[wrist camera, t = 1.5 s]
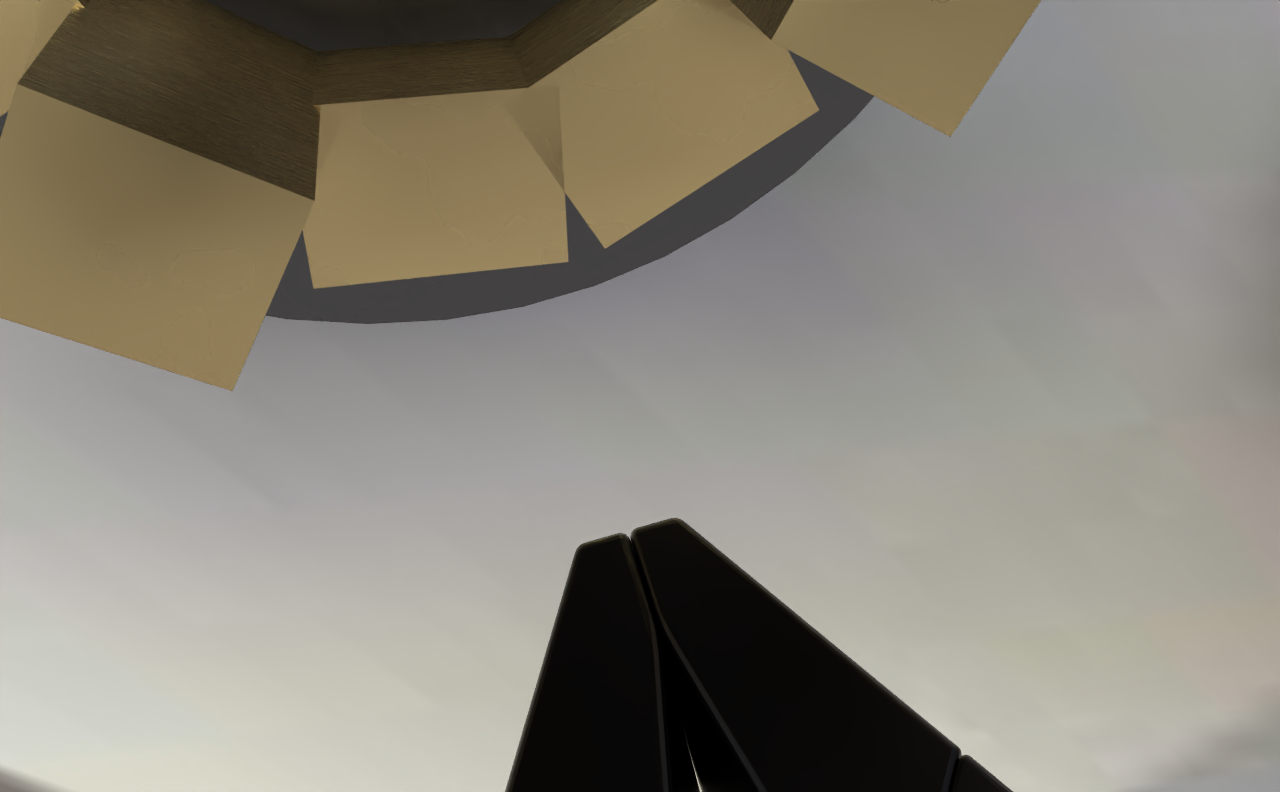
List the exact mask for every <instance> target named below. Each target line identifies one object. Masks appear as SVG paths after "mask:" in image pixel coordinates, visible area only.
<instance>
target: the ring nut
mask: <svg viewBox="0 0 1280 792" xmlns="http://www.w3.org/2000/svg"><path fill="white" fill-rule="evenodd" d="M1040 1H1041V0H561V1H560V2H558V3H557V4H556V5H554V6H553V7H551V8H550V9H548V10H547V11H545V12H544V13H542V14H541V15H539V16H538V17H537V18H535V19H534V20H532V21H531V22H529V23H528V24H526V25H525V26H523V27H522V28H521V29H519V30H518V31H516V32H515V33H513V34H512V35H510V36H509V37H498V38H484V39H471V40H457V41H444V42H430V43H417V44H403V45H390V46H376V47H363V48H349V49H336V50H322V51H316V50H314V49H312V48H309V47H307V46H305V45H303V44H300V43H298V42H296V41H294V40H291V39H289V38H287V37H285V36H283V35H280V34H278V33H276V32H274V31H271V30H269V29H267V28H265V27H262V26H260V25H258V24H256V23H253V22H251V21H249V20H247V19H245V18H242V17H240V16H238V15H236V14H233V13H231V12H229V11H227V10H224V9H222V8H220V7H218V6H215V5H213V4H211V3H209V2H207V1H204V0H0V116H2V115H3V114H5V113H6V112H7V111H9V112H8V115H7V118H6V121H5V125H4V128H3V131H2V135H1V138H0V318H3V319H6V320H9V321H12V322H15V323H19V324H22V325H25V326H28V327H31V328H34V329H37V330H41V331H44V332H47V333H50V334H53V335H56V336H60V337H63V338H66V339H69V340H72V341H75V342H79V343H82V344H85V345H88V346H91V347H94V348H98V349H101V350H104V351H107V352H110V353H113V354H117V355H120V356H123V357H126V358H129V359H132V360H136V361H139V362H142V363H145V364H148V365H151V366H155V367H158V368H161V369H164V370H167V371H170V372H174V373H177V374H180V375H183V376H186V377H189V378H193V379H196V380H199V381H202V382H205V383H208V384H211V385H215V386H218V387H221V388H224V389H227V390H230V391H233V389H234V386H235V384H236V382H237V380H238V377H239V375H240V373H241V370H242V368H243V366H244V363H245V361H246V359H247V356H248V354H249V352H250V350H251V347H252V345H253V343H254V340H255V338H256V336H257V333H258V331H259V329H260V326H261V324H262V322H263V320H264V317H265V315H266V313H267V310H268V308H269V306H270V303H271V301H272V299H273V296H274V294H275V292H276V290H277V287H278V285H279V283H280V280H281V278H282V276H283V273H284V271H285V269H286V266H287V264H288V262H289V260H290V257H291V255H292V253H293V250H294V248H295V246H296V243H297V241H298V239H299V236H300V234H301V232H302V230H303V235H304V240H305V245H306V251H307V256H308V262H309V267H310V272H311V278H312V283H313V288H314V289H316V288H325V287H335V286H344V285H354V284H363V283H373V282H382V281H392V280H401V279H411V278H420V277H430V276H439V275H449V274H458V273H468V272H477V271H486V270H496V269H505V268H515V267H524V266H534V265H543V264H553V263H562V262H568V244H567V225H566V207H565V193H566V194H567V196H568V197H569V199H570V200H571V202H572V203H573V204H574V206H575V207H576V209H577V210H578V211H579V213H580V214H581V216H582V217H583V218H584V220H585V221H586V223H587V224H588V226H589V227H590V228H591V230H592V231H593V233H594V234H595V235H596V237H597V238H598V240H599V241H600V242H601V244H602V245H603V247H604V248H605V249H606V248H607V247H609V246H610V245H612V244H613V243H615V242H617V241H618V240H620V239H621V238H623V237H624V236H626V235H627V234H629V233H630V232H632V231H634V230H635V229H637V228H638V227H640V226H641V225H643V224H644V223H646V222H647V221H649V220H650V219H652V218H654V217H655V216H657V215H658V214H660V213H661V212H663V211H664V210H666V209H667V208H669V207H671V206H672V205H674V204H675V203H677V202H678V201H680V200H681V199H683V198H684V197H686V196H688V195H689V194H691V193H692V192H694V191H695V190H697V189H698V188H700V187H701V186H703V185H705V184H706V183H708V182H709V181H711V180H712V179H714V178H715V177H717V176H718V175H720V174H722V173H723V172H725V171H726V170H728V169H729V168H731V167H732V166H734V165H735V164H737V163H738V162H740V161H742V160H743V159H745V158H746V157H748V156H749V155H751V154H752V153H754V152H755V151H757V150H759V149H760V148H762V147H763V146H765V145H766V144H768V143H769V142H771V141H772V140H774V139H776V138H777V137H779V136H780V135H782V134H783V133H785V132H786V131H788V130H789V129H791V128H793V127H794V126H796V125H797V124H799V123H800V122H802V121H803V120H805V119H806V118H808V117H810V116H811V115H813V114H814V113H816V112H817V111H819V109H818V107H817V105H816V103H815V101H814V99H813V97H812V95H811V93H810V91H809V90H808V88H807V86H806V84H805V82H804V80H803V78H802V76H801V74H800V72H799V71H798V69H797V67H796V65H795V63H794V61H793V59H792V57H791V55H790V54H789V52H788V50H790V51H792V52H793V53H795V54H797V55H799V56H801V57H803V58H805V59H806V60H808V61H810V62H812V63H814V64H816V65H818V66H819V67H821V68H823V69H825V70H827V71H829V72H831V73H832V74H834V75H836V76H838V77H840V78H842V79H844V80H845V81H847V82H849V83H851V84H853V85H855V86H857V87H858V88H860V89H862V90H864V91H866V92H868V93H870V94H871V95H873V96H875V97H877V98H879V99H881V100H883V101H884V102H886V103H888V104H890V105H892V106H894V107H896V108H897V109H899V110H901V111H903V112H905V113H907V114H909V115H910V116H912V117H914V118H916V119H918V120H920V121H922V122H923V123H925V124H927V125H929V126H931V127H933V128H935V129H936V130H938V131H940V132H942V133H944V134H946V135H948V136H949V137H951V135H952V134H953V132H954V131H955V129H956V128H957V126H958V125H959V123H960V122H961V120H962V119H963V117H964V116H965V114H966V113H967V111H968V110H969V108H970V107H971V105H972V104H973V102H974V101H975V99H976V98H977V96H978V95H979V93H980V92H981V90H982V89H983V87H984V86H985V84H986V83H987V81H988V80H989V78H990V76H991V75H992V73H993V72H994V70H995V69H996V67H997V66H998V64H999V63H1000V61H1001V60H1002V58H1003V57H1004V55H1005V54H1006V52H1007V51H1008V49H1009V48H1010V46H1011V45H1012V43H1013V42H1014V40H1015V39H1016V37H1017V36H1018V34H1019V33H1020V31H1021V30H1022V28H1023V27H1024V25H1025V24H1026V22H1027V21H1028V19H1029V18H1030V16H1031V15H1032V13H1033V12H1034V10H1035V9H1036V7H1037V6H1038V4H1039V3H1040ZM787 49H788V50H787Z"/></svg>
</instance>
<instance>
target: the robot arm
mask: <svg viewBox="0 0 1280 792" xmlns="http://www.w3.org/2000/svg"><path fill="white" fill-rule="evenodd" d="M630 537H631V541H630V539H629V537H628V536H627V535H626V534H623V533H618V534H614V535H610V536H607V537H603V538H600V539H596V540H593V541H589V542H586V543H583V544H581V545H580V546H579V547H578V548H577V550H576V552H575V555H574V558H573V561H572V565H571V568H570V572H569V575H568V578H567V582H566V585H565V589H564V592H563V596H562V599H561V602H560V606H559V609H558V613H557V616H556V619H555V623H554V626H553V630H552V633H551V636H550V640H549V643H548V647H547V650H546V654H545V657H544V660H543V664H542V667H541V671H540V674H539V677H538V681H537V684H536V688H535V691H534V695H533V698H532V701H531V705H530V708H529V712H528V715H527V718H526V722H525V725H524V729H523V732H522V735H521V739H520V742H519V746H518V749H517V753H516V756H515V759H514V763H513V766H512V770H511V773H510V776H509V780H508V783H507V787H506V790H505V792H700V791H699V787H698V783H697V779H696V775H697V778H698V781H699V784H700V787H701V790H702V792H1013V791H1012V790H1011V789H1009V788H1008V787H1007V786H1005V785H1004V784H1003V783H1002V782H1001V781H999V780H998V779H997V778H996V777H995V776H993V775H992V774H991V773H990V772H989V771H987V770H986V769H985V768H984V767H983V766H981V765H980V764H979V763H978V762H977V761H975V760H974V759H973V758H972V757H970V756H969V755H963V756H961V750H960V748H959V747H958V746H956V745H955V744H954V743H953V742H952V741H950V740H949V739H948V738H947V737H945V736H944V735H943V734H942V733H941V732H939V731H938V730H937V729H936V728H935V727H933V726H932V725H931V724H930V723H928V722H927V721H926V720H925V719H924V718H922V717H921V716H920V715H919V714H917V713H916V712H915V711H914V710H913V709H911V708H910V707H909V706H908V705H907V704H905V703H904V702H903V701H902V700H900V699H899V698H898V697H897V696H896V695H894V694H893V693H892V692H891V691H890V690H888V689H887V688H886V687H885V686H883V685H882V684H881V683H880V682H879V681H877V680H876V679H875V678H874V677H873V676H871V675H870V674H869V673H868V672H866V671H865V670H864V669H863V668H862V667H860V666H859V665H858V664H857V663H856V662H854V661H853V660H852V659H851V658H849V657H848V656H847V655H846V654H845V653H843V652H842V651H841V650H840V649H839V648H837V647H836V646H835V645H834V644H832V643H831V642H830V641H829V640H828V639H826V638H825V637H824V636H823V635H821V634H820V633H819V632H818V631H817V630H815V629H814V628H813V627H812V626H811V625H809V624H808V623H807V622H806V621H804V620H803V619H802V618H801V617H800V616H798V615H797V614H796V613H795V612H794V611H792V610H791V609H790V608H789V607H787V606H786V605H785V604H784V603H783V602H781V601H780V600H779V599H778V598H777V597H775V596H774V595H773V594H772V593H770V592H769V591H768V590H767V589H766V588H764V587H763V586H762V585H761V584H760V583H758V582H757V581H756V580H755V579H753V578H752V577H751V576H750V575H749V574H747V573H746V572H745V571H744V570H743V569H741V568H740V567H739V566H738V565H736V564H735V563H734V562H733V561H732V560H730V559H729V558H728V557H727V556H726V555H724V554H723V553H722V552H721V551H719V550H718V549H717V548H716V547H715V546H713V545H712V544H711V543H710V542H708V541H707V540H706V539H705V538H704V537H702V536H701V535H700V534H699V533H698V532H696V531H695V530H694V529H693V528H691V527H690V526H689V525H688V524H687V523H685V522H684V521H682V520H681V519H678V518H670V519H667V520H663V521H660V522H656V523H653V524H649V525H646V526H642V527H639V528H636V529H634V530H633V532H632V533H631V536H630ZM689 751H690V752H689ZM691 758H692V759H691ZM692 761H693V763H692ZM693 765H694V767H693ZM694 768H695V771H696V775H695V771H694Z"/></svg>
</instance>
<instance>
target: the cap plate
mask: <svg viewBox="0 0 1280 792" xmlns="http://www.w3.org/2000/svg"><path fill="white" fill-rule="evenodd" d="M204 1H207V2H209V3H211V4H213V5H215V6H218V7H220V8H222V9H224V10H227V11H229V12H231V13H233V14H236V15H238V16H240V17H242V18H245V19H247V20H249V21H251V22H253V23H256V24H258V25H260V26H262V27H265V28H267V29H269V30H271V31H274V32H276V33H278V34H280V35H283V36H285V37H287V38H289V39H291V40H294V41H296V42H298V43H300V44H303V45H305V46H307V47H309V48H312V49H314V50H316V51H322V50H336V49H349V48H363V47H376V46H390V45H403V44H417V43H430V42H444V41H457V40H471V39H484V38H498V37H509V36H510V35H512V34H513V33H515V32H516V31H518V30H519V29H521V28H522V27H523V26H525V25H526V24H528V23H529V22H531V21H532V20H534V19H535V18H537V17H538V16H539V15H541V14H542V13H544V12H545V11H547V10H548V9H550V8H551V7H553V6H554V5H556V4H557V3H558V2H560V1H561V0H204ZM787 50H788V49H787ZM788 52H789V54H790V55H791V57H792V59H793V61H794V63H795V65H796V67H797V69H798V71H799V72H800V74H801V76H802V78H803V80H804V82H805V84H806V86H807V88H808V90H809V91H810V93H811V95H812V97H813V99H814V101H815V103H816V105H817V107H818V109H819V111H817V112H816V113H814V114H813V115H811V116H810V117H808V118H806V119H805V120H803V121H802V122H800V123H799V124H797V125H796V126H794V127H793V128H791V129H789V130H788V131H786V132H785V133H783V134H782V135H780V136H779V137H777V138H776V139H774V140H772V141H771V142H769V143H768V144H766V145H765V146H763V147H762V148H760V149H759V150H757V151H755V152H754V153H752V154H751V155H749V156H748V157H746V158H745V159H743V160H742V161H740V162H738V163H737V164H735V165H734V166H732V167H731V168H729V169H728V170H726V171H725V172H723V173H722V174H720V175H718V176H717V177H715V178H714V179H712V180H711V181H709V182H708V183H706V184H705V185H703V186H701V187H700V188H698V189H697V190H695V191H694V192H692V193H691V194H689V195H688V196H686V197H684V198H683V199H681V200H680V201H678V202H677V203H675V204H674V205H672V206H671V207H669V208H667V209H666V210H664V211H663V212H661V213H660V214H658V215H657V216H655V217H654V218H652V219H650V220H649V221H647V222H646V223H644V224H643V225H641V226H640V227H638V228H637V229H635V230H634V231H632V232H630V233H629V234H627V235H626V236H624V237H623V238H621V239H620V240H618V241H617V242H615V243H613V244H612V245H610V246H609V247H607V248H606V249H605V248H604V247H603V245H602V244H601V242H600V241H599V240H598V238H597V237H596V235H595V234H594V233H593V231H592V230H591V228H590V227H589V226H588V224H587V223H586V221H585V220H584V218H583V217H582V216H581V214H580V213H579V211H578V210H577V209H576V207H575V206H574V204H573V203H572V202H571V200H570V199H569V197H568V196H567V194H566V193H565V207H566V225H567V244H568V262H562V263H553V264H543V265H534V266H524V267H515V268H505V269H496V270H486V271H477V272H468V273H458V274H449V275H439V276H430V277H420V278H411V279H401V280H392V281H382V282H373V283H363V284H354V285H344V286H335V287H325V288H316V289H314V288H313V283H312V278H311V272H310V267H309V262H308V256H307V251H306V245H305V240H304V235H303V230H302V232H301V234H300V236H299V239H298V241H297V243H296V246H295V248H294V250H293V253H292V255H291V257H290V260H289V262H288V264H287V266H286V269H285V271H284V273H283V276H282V278H281V280H280V283H279V285H278V287H277V290H276V292H275V294H274V296H273V299H272V301H271V303H270V306H269V308H268V310H267V313H266V315H267V316H273V317H278V318H284V319H295V320H312V321H330V322H347V323H364V324H373V323H392V322H410V321H429V320H447V319H453V318H459V317H465V316H470V315H476V314H482V313H488V312H494V311H500V310H506V309H512V308H518V307H523V306H526V305H530V304H533V303H537V302H540V301H544V300H547V299H551V298H554V297H557V296H561V295H564V294H568V293H571V292H575V291H578V290H582V289H585V288H588V287H592V286H595V285H598V284H600V283H602V282H605V281H607V280H610V279H612V278H614V277H617V276H619V275H621V274H624V273H626V272H629V271H631V270H633V269H636V268H638V267H640V266H643V265H645V264H648V263H650V262H652V261H655V260H657V259H659V258H662V257H664V256H666V255H668V254H670V253H672V252H673V251H675V250H677V249H679V248H680V247H682V246H684V245H686V244H688V243H689V242H691V241H693V240H695V239H696V238H698V237H700V236H702V235H703V234H705V233H707V232H709V231H711V230H712V229H714V228H716V227H718V226H719V225H721V224H723V223H725V222H727V221H728V220H730V219H732V218H733V217H735V216H736V215H737V214H739V213H740V212H742V211H743V210H744V209H746V208H747V207H748V206H750V205H751V204H753V203H754V202H755V201H757V200H758V199H759V198H761V197H762V196H764V195H765V194H766V193H768V192H769V191H771V190H772V189H773V188H775V187H776V186H777V185H779V184H780V183H782V182H783V181H784V180H786V179H787V178H788V177H790V176H791V175H793V174H794V173H795V172H796V171H797V170H799V169H800V168H801V167H802V166H803V165H804V164H805V163H806V162H807V161H808V160H810V159H811V158H812V157H813V156H814V155H815V154H816V153H817V152H818V151H819V150H821V149H822V148H823V147H824V146H825V145H826V144H827V143H828V142H829V141H830V140H831V139H833V138H834V137H835V136H836V135H837V134H838V133H839V132H840V131H841V130H842V129H844V128H845V127H846V126H847V125H848V124H849V123H850V122H851V121H852V120H853V119H854V118H855V117H856V116H857V115H858V114H859V113H860V112H861V110H862V109H863V108H864V107H865V106H866V105H867V104H868V103H869V101H870V100H871V99H872V98H873V97H874V96H873V95H871V94H870V93H868V92H866V91H864V90H862V89H860V88H858V87H857V86H855V85H853V84H851V83H849V82H847V81H845V80H844V79H842V78H840V77H838V76H836V75H834V74H832V73H831V72H829V71H827V70H825V69H823V68H821V67H819V66H818V65H816V64H814V63H812V62H810V61H808V60H806V59H805V58H803V57H801V56H799V55H797V54H795V53H793V52H792V51H790V50H788ZM8 112H9V111H7V112H6V113H5V114H3V115H2V116H0V138H1V135H2V131H3V128H4V125H5V121H6V118H7V115H8Z"/></svg>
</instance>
